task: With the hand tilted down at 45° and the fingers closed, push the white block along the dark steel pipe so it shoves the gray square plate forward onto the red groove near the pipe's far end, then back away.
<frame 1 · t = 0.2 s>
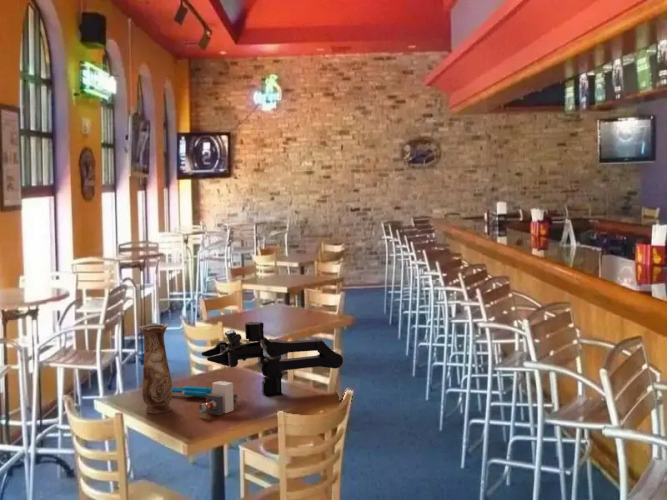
hand: (204, 356, 291), 16 cm above the table, tool horizontal, fingers open, 9 cm apart
vase: (157, 410, 282), on the table
toy: (194, 398, 298), on the table
pipe rig: (219, 412, 278), on the table
white block: (222, 396, 279), point 5 cm above the table, slide at 0.0 cm
gray square plate: (214, 404, 276), point 3 cm above the table, slide at 0.0 cm
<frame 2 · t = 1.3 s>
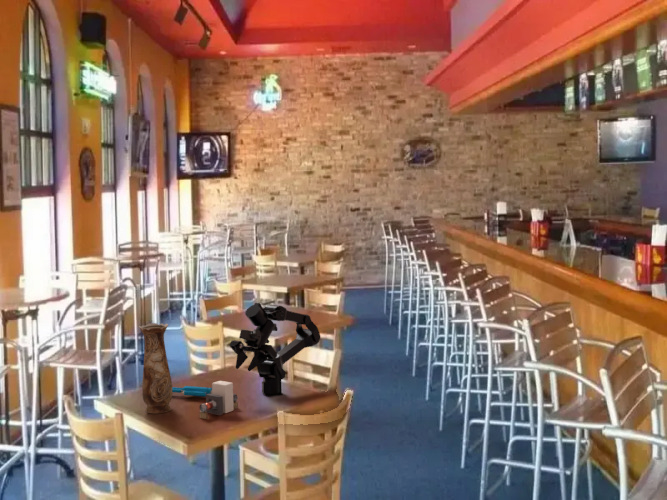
hand: (242, 369, 287), 13 cm above the table, tool tilted 45°, fingers open, 5 cm apart
nothing on the table moved.
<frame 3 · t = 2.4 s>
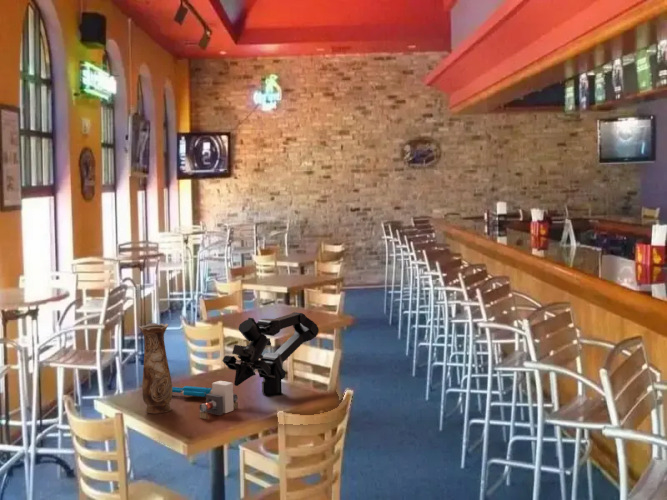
hand: (235, 385, 284), 8 cm above the table, tool tilted 45°, fingers closed
nothing on the table moved.
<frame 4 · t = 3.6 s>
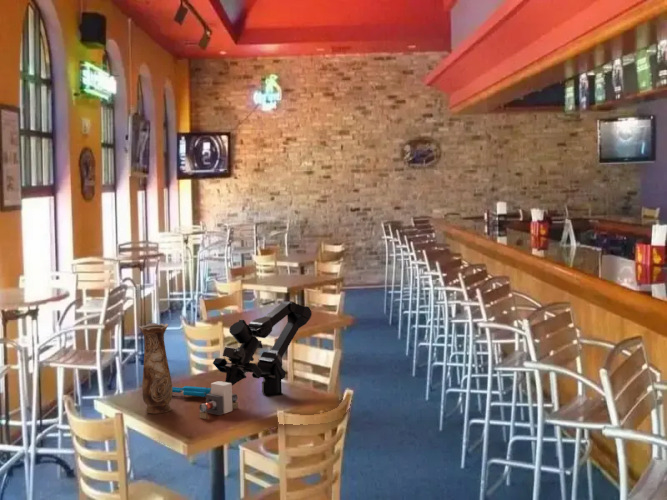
hand: (225, 388, 280), 8 cm above the table, tool tilted 45°, fingers closed, pressing on white block
white block: (221, 397, 278), point 5 cm above the table, slide at 0.6 cm, touching gripper
everything else where it was.
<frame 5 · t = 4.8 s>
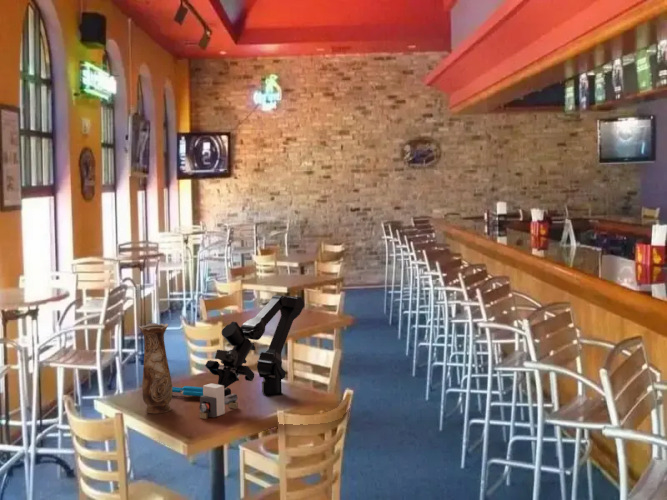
hand: (218, 391, 277), 8 cm above the table, tool tilted 45°, fingers closed, pressing on white block
white block: (213, 399, 275), point 5 cm above the table, slide at 4.4 cm, touching gripper, gray square plate
gray square plate: (208, 406, 273), point 3 cm above the table, slide at 2.9 cm, touching white block
everything else where it was.
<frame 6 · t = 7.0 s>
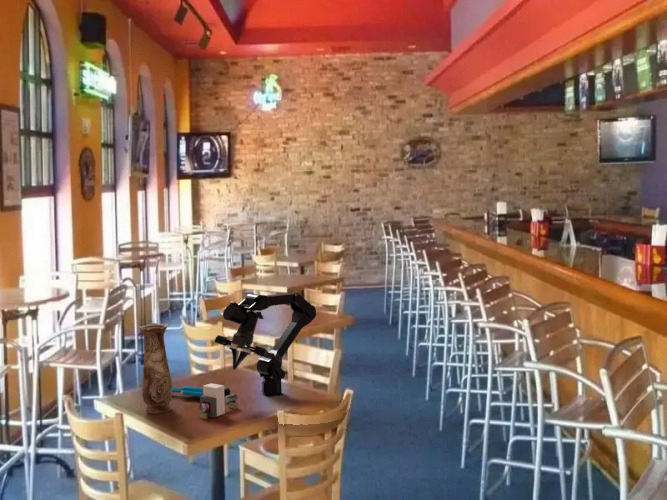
hand: (234, 369, 288), 12 cm above the table, tool tilted 25°, fingers closed
white block: (213, 399, 275), point 5 cm above the table, slide at 4.4 cm, touching gray square plate
everything else where it was.
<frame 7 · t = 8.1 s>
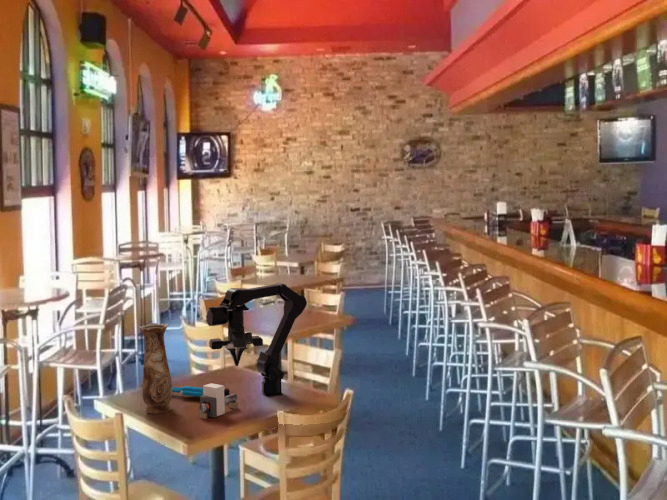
hand: (236, 365, 293), 12 cm above the table, tool pointing down, fingers closed
nothing on the table moved.
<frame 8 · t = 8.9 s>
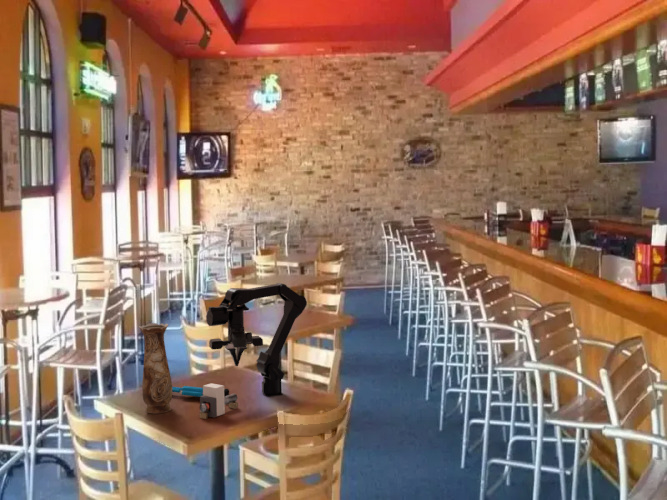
hand: (236, 365, 293), 12 cm above the table, tool pointing down, fingers closed
at the end: gray square plate slide at 2.9 cm; white block slide at 4.4 cm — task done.
